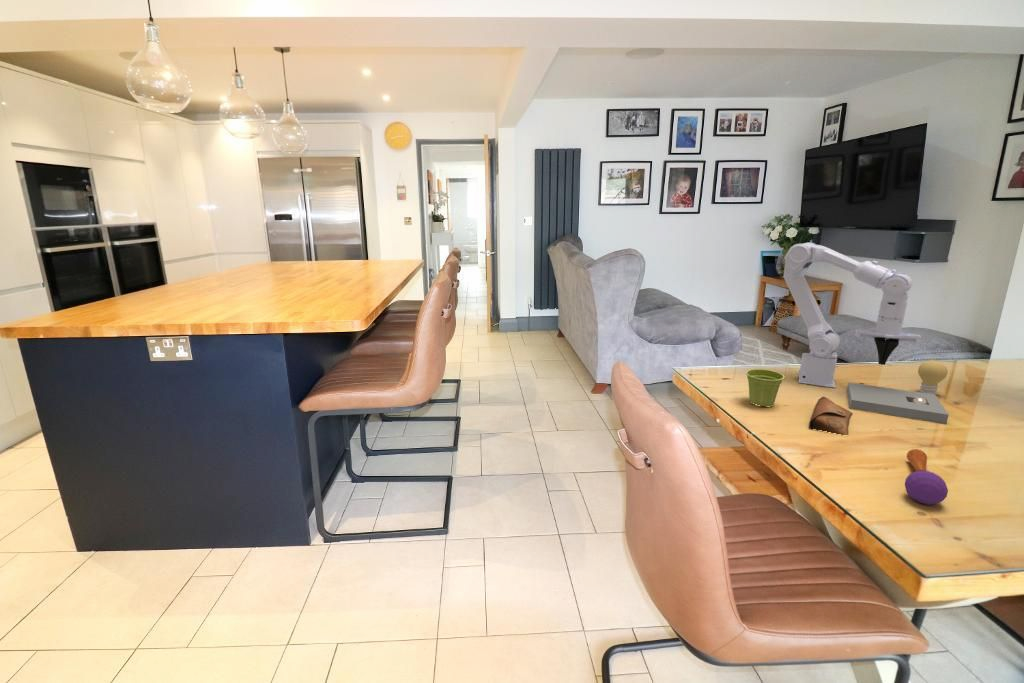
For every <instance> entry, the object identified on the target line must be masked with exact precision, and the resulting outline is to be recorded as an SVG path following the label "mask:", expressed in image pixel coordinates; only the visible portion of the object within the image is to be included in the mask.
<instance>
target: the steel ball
mask: <svg viewBox="0 0 1024 683" xmlns="http://www.w3.org/2000/svg"><path fill="white" fill-rule="evenodd" d="M912 402H913V403H920V404H927V401H926V400H925V399H924V398H920V397H917V398H915V399H913V400H912Z"/></svg>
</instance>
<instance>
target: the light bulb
mask: <svg viewBox="0 0 1024 683" xmlns="http://www.w3.org/2000/svg"><path fill="white" fill-rule="evenodd" d="M917 373H918V376H919V378H920V379H921V381H922V382H921V383H920V389H919V392H921V393H928V394H935V395H937V391H938V388H939V384H940V383H941V382H943V381H944V380H945V379H946V378H947V375H948V367H947V366H946V365H945V364H944V363H942V362H940V361H937V360H927V361H922V363H921V364H919V366H918V370H917Z"/></svg>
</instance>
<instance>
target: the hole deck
mask: <svg viewBox="0 0 1024 683" xmlns="http://www.w3.org/2000/svg"><path fill="white" fill-rule="evenodd" d="M846 394H847V399H848V403H849V404H848V405H849V409H852V410H858V411H864V412H869V411H870V413H875V412H876V413H877V414H881V413H882V414H883V415H889V416H894V417H900V418H908V419H912V420H913V419H915V420H920V421H926V422H931V423H932V422H933V423H940V424H943V425H944V424H945V425H947V423H948V421H949V420H948V419H949V413H948V412H947V410H946V409H945V407H944V405H943V404H942V403H941V401H940V400H939V398H938V396H937V394H928V393H921V392H920V391H914V390H906V389H905V390H904V389H898V388H891V387H890V388H889V387H883V386H877V385H870V384H869V385H868V384H863V383H855V382H847V386H846ZM917 397H920V398H924V399H925V400H926V401H927V404H920V403H913V402H912V400H913V399H915V398H917Z"/></svg>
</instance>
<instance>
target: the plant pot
mask: <svg viewBox="0 0 1024 683" xmlns="http://www.w3.org/2000/svg"><path fill="white" fill-rule="evenodd" d="M745 374H746V376H747V377H746V378H747V380H748V396H749V398H748V400H750V401H749V403H750V402H752V403H754V404H757V405H760V407H764V406H772V405H773V406H774V405H775V402H776V399H777V395H778V392H779V389H780V385H781V384H782V382H783V381H784V379H785V375H784V374H782V373H781V372H779V371H775V370H772V369H771V370H770V369H762V368H752V369H748V370H747V371H745ZM773 406H772V407H773Z"/></svg>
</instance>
